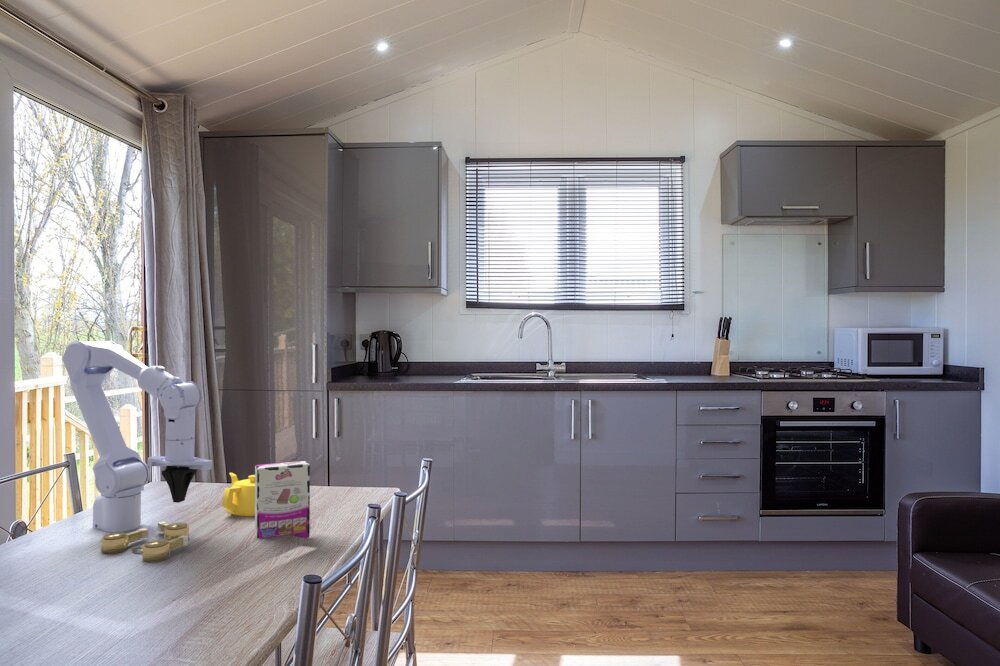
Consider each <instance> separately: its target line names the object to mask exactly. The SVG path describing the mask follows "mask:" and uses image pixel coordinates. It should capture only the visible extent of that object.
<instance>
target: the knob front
mask: <svg viewBox="0 0 1000 666" xmlns="http://www.w3.org/2000/svg"><path fill="white" fill-rule="evenodd" d="M143 544H144V545H143V549H142V554H141V555H142V556H141V557H142V562H144V563H157V562H158V563H159V562H163V561H166V560H168V559H169V558H170V551H172V550H175V549H178V548H182V547H185V546H188V545H189V539H188V536H184V535H182V536H179V537H178V538H175V539H172V540H169V541H168V540H165V539H164V538H161V539H160V538H157V539H151V540H148V541H146V542H144V543H143Z"/></svg>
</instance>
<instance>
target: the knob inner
mask: <svg viewBox="0 0 1000 666" xmlns="http://www.w3.org/2000/svg"><path fill="white" fill-rule="evenodd" d="M148 534H149V529H148V528H143V527H142V528H140V529H137V530H135V531H132V532H127V531H122V532H109V533H108V532H107V533H106V534H104V535H103V536H102V537H101V539H100V553H101V554H104V555H112V554H118V553H122V552H125V551H127V550H128V549H129V543H132V542H136V541H139V540H142V539H147V538H148V536H149V535H148Z"/></svg>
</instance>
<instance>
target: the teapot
mask: <svg viewBox="0 0 1000 666" xmlns="http://www.w3.org/2000/svg"><path fill="white" fill-rule="evenodd" d="M228 474H229V476H230V477H231V478H230V479H231V487H225V488H224V492H223V497H222V502H221V507H223V508H225V511H226V512H227V513H228V514H230V515H233V516H239V517H255V474H251V475H248V478H247V479H242V480H241V479H240V480H239V478H238V475H237V474H235V473H233V472H229V473H228Z"/></svg>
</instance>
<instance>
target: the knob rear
mask: <svg viewBox="0 0 1000 666" xmlns="http://www.w3.org/2000/svg"><path fill="white" fill-rule="evenodd" d="M157 531H158V532H160V533H164V535H163V537H164V538H163V539H165V540H168V541H169V540H172V539H175V538H178V537H179V536H182V535H184V536H188V540H189V537H190V532H189V531H190V526H189V524H188V522H173V523H168V522H167V521H159V522H158V523H157Z"/></svg>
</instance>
